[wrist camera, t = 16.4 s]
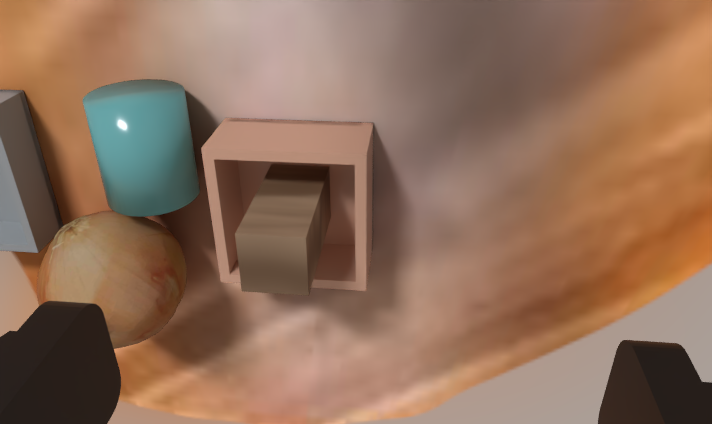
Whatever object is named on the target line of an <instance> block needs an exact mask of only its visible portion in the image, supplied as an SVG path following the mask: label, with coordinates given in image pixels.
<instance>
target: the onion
mask: <svg viewBox="0 0 712 424" xmlns="http://www.w3.org/2000/svg"><path fill="white" fill-rule="evenodd" d="M186 281H187V271H186V263H185V258H184V255H183V252H182V249H181V247H180V244H179V243H178V241H177V240H176V238H175V237H174V236H173V235H172V233H171V232H170V231H169V230H168V229H166V228H165V227H164V226H162V225H161V224H159V223H157V222H155V221H153V220H150V219H148V218H145V217H137V216H127V215H122V214H119V213H117V212H115V211H103V212H98V213H94V214H90V215H85V216H82V217H80V218H77V219H75V220H74V221H72V222H70V223H68V224H66V225H64V226H63V227H62V228H61V229H60V230H59V231H58V232H57V234H56V235H55V237H54V240H53V241H52V242H51V244H50V245H49V247H48V250H47V252H46V254H45V256H44V258H43V261H42V264H41V267H40V269H39V272H38V279H37V297H38V302H39V306H40V305H41V304H43V303H44V302H47V301H63V302H78V303H93V304H97V305H98V306H99V307H100V308H101V309H102V311H103V314H104V317H105V320H106V324H107V327H108V331H109V335H110V338H111V342H112V345H113V349H115V348H121V347H125V346H129V345H133V344H137V343H140V342H142V341H144V340H146V339H148V338H149V337H151V336H153V335H155V334H156V333H158V332H159V331H160V330H161V329H162V328H163V327H164V326H165V325H166V324H167V323H168V321H169V320H170V319H171V317H172V316H173V315H174V313H175V311H176V308H177V306H178V304H179V303H180V301H181V299H182V297H183V294H184V290H185V287H186Z"/></svg>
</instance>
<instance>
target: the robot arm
mask: <svg viewBox="0 0 712 424" xmlns="http://www.w3.org/2000/svg"><path fill="white" fill-rule="evenodd" d="M120 388H121V376H120V370H119V367H118V363H117V360H116V356H115V352H114V349H113V345H112V342H111V338H110V335H109V331H108V327H107V324H106V320H105V317H104V314H103V311H102V309H101V308H100V307H99V306H98V305H97V304H93V303H78V302H63V301H47V302H44V303H43V304H41V305H40V306H39V307H38V308H37V309H36V310H35V311H34V313H33V314H32V315H31V316H30V317H29V318H28V319H27V321H26V322H25V323H24V324H23V325H22V326H21V328H19V330H18V331H9V332H7V333H6V334H4V335H3V336H1V337H0V424H107V423H108V421H109V419H110V418H111V416H112V414H113V412H114V410H115V408H116V405H117V402H118V399H119V395H120ZM598 424H712V383H709V382H702V381H701V379H700V377H699V375H698V373H697V372H696V370H695V368H694V366H693V364H692V362H691V360H690V358H689V356H688V354H687V353H686V351H685V349H684V348H683V347H682V346H681V345H679V344H677V343H662V342H648V341H632V340H623V341H622V342H621V343H620V344H619V346H618V348H617V351H616V355H615V358H614V362H613V366H612V369H611V373H610V376H609V380H608V383H607V387H606V390H605V394H604V397H603V401H602V404H601V408H600V412H599V418H598Z"/></svg>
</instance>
